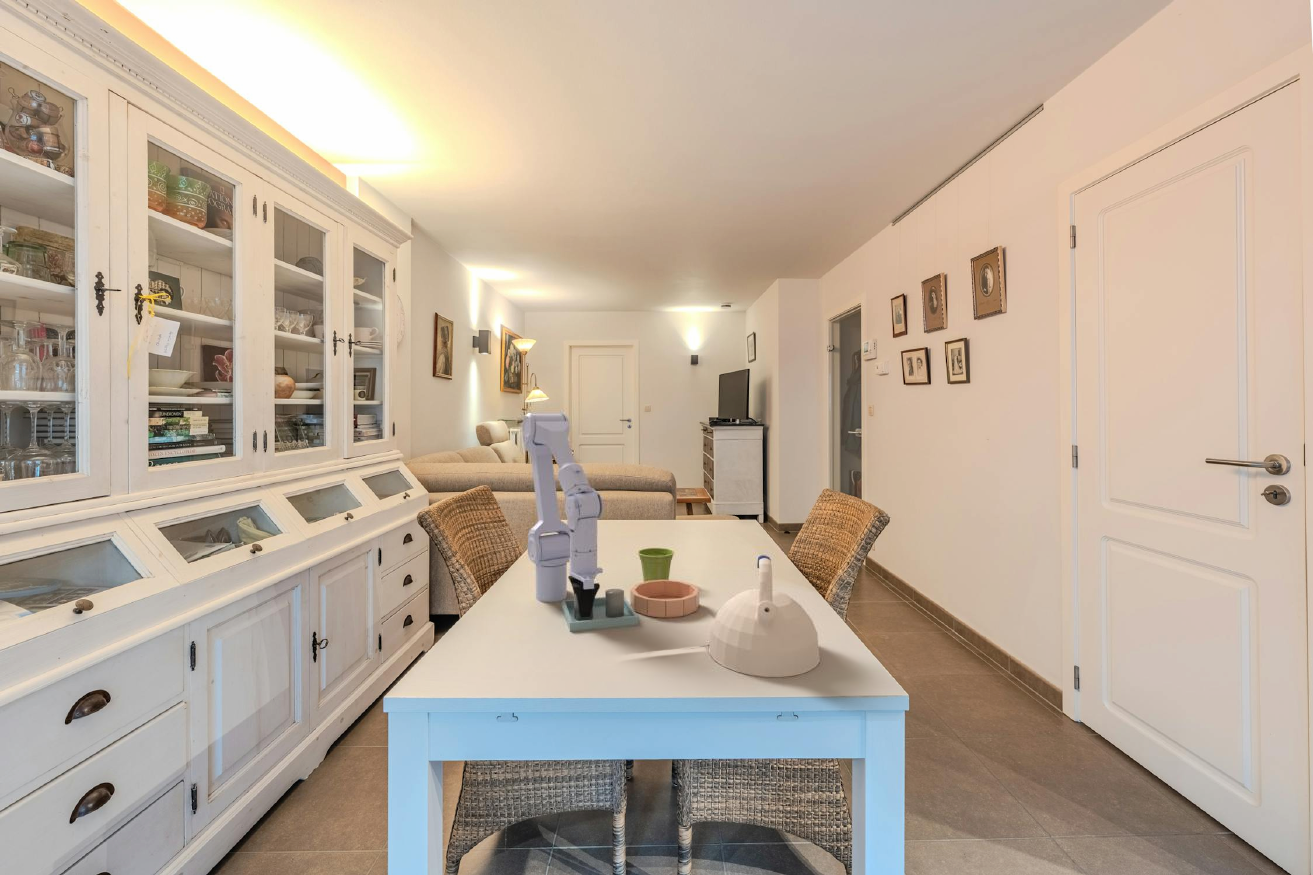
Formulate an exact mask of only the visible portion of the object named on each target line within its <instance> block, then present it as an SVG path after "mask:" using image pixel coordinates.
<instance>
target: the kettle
mask: <svg viewBox="0 0 1313 875" xmlns="http://www.w3.org/2000/svg"><path fill="white" fill-rule="evenodd" d="M756 564H757V569H758V576H759V578H758V579H759V580H758V588H753V589H748V590H744V591H741V592H738V594H736V595H735V596H733V597H732V598H730V599H729V600H727V601H726V602H725V603H724V604H723V606H722V607H720V608H719V610H717V611H718V612H717V614H716V616H715V617H714V620H713V623H712V625H711V627H710V635H709V645H708V651H709V652H708V653H709V655H710V656H711V658H712V659H714V661H715V662H716V663H718V664H719V665H721V666H723V668H727V669H729V670H731V671H733V672H737V673H739V674H744V675H748V676H755V677H761V678H787V677H788V678H789V677H796V676H799V675H800V676H801V675H802V674H806V673H808V672H810V671H811V670H813V669H815V668H816V667H817V665H818V664H819V663H820V660H821V659H820V657H821V656H820V650H819V648H820V647H819V637H818V631H817V629H816V627H815V624H814V621H813V620H812V618H811V617H810V615H809V614H808V613H807V612H806V610H805V609H804V608H803V606H802V605H801V604H800V603H798V602H797V601H796V600H795V599H793V598H792V596H789V595H788V594H786V593H783V592H780V591H777V590H776V589H775V590H774V589H773V568H772V566H773V565H772V559H771V558H770V557H769V556H768V555H760V556H758V557H757V563H756Z"/></svg>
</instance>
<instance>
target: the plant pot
mask: <svg viewBox="0 0 1313 875" xmlns="http://www.w3.org/2000/svg"><path fill="white" fill-rule="evenodd" d="M637 554H638V556H639V560H640V564H641V570H642V577H643V582H645V581H652V580H670V571H671V564H672V559H673V557H674V555H675V551H674V550H673V549H669V548H665V547H664V548H663V547H648V548H642V549H639V550H638V551H637Z"/></svg>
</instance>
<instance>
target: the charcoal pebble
mask: <svg viewBox="0 0 1313 875" xmlns="http://www.w3.org/2000/svg"><path fill="white" fill-rule="evenodd" d="M573 600H574V619H575V620H578V621H585V620H591V619H592V618H593V608H592V612H591V616H590V617H580V614H579V609H578V602H577V597H576V594H574V593H573Z"/></svg>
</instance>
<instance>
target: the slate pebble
mask: <svg viewBox="0 0 1313 875" xmlns="http://www.w3.org/2000/svg"><path fill="white" fill-rule="evenodd" d="M604 597H605V615H606V616H607V617H610V618H617V617H622V616H623V615H624V597H625V591H624V589H621V588H609V589H607V590H605V595H604Z"/></svg>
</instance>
